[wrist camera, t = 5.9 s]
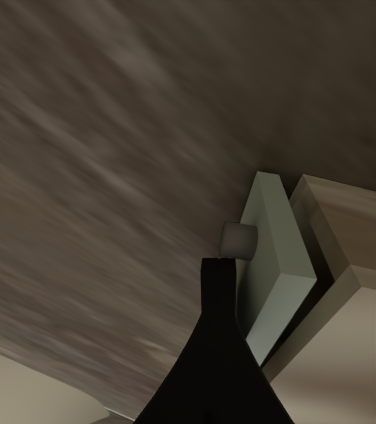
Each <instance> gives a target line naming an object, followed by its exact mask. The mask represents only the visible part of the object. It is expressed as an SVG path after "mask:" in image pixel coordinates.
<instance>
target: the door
mask: <svg viewBox="0 0 376 424" xmlns="http://www.w3.org/2000/svg"><path fill="white" fill-rule="evenodd" d="M219 255H220V256H224V257H228V258H235V259H236V270H237V284H236V319H237V321H238V324H239V326H240V328H241V330H242V333H243V335H244V337H245V339H246V341H247V343H248V345H249V347H250V349H251V351H252V353H253V355H254V357H255V359H256V361H257V362H258V364H259V366H260V365H261V363H262V362H263V360H264V359H265V357H266V356H267V354H268V353H269V351H270V350H271V348H272V347H273V345H274V344H275V342H276V341H277V339H278V338H279V336H280V335H281V333H282V332H283V330H284V329H285V327H286V326H287V324H288V323H289V321H290V320H291V318H292V317H293V315H294V314H295V312H296V311H297V309H298V308H299V306H300V305H301V303H302V302H303V300H304V299H305V297H306V296H307V294H308V293H309V291H310V290H311V288H312V287H313V285H314V283H315V282H316V280H317V278H316V275H315V272H314V269H313V267H312V264H311V261H310V258H309V256H308V253H307V250H306V248H305V245H304V242H303V239H302V237H301V234H300V231H299V228H298V226H297V223H296V220H295V217H294V215H293V212H292V209H291V206H290V204H289V201H288V198H287V195H286V193H285V190H284V187H283V185H282V182H281V179H280V176H279V175H276V174H271V173H265V172H260V171H257V173H256V176H255V179H254V182H253V185H252V188H251V191H250V194H249V197H248V200H247V203H246V206H245V209H244V212H243V215H242V218H241V221H240V223H235V222H230V221H225V222H224V225H223V228H222V232H221V238H220V245H219Z"/></svg>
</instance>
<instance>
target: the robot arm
mask: <svg viewBox="0 0 376 424" xmlns="http://www.w3.org/2000/svg"><path fill="white" fill-rule="evenodd" d="M236 284H237V270H236V259H235V258H220V259H218V258H202V264H201V306H202V313H201V315H200V318H199V320H198V322H197V324H196V326H195V328H194V330H193V332H192V334H191V336H190V338H189V340H188V342H187V344H186V346H185V347H184V349H183V351H182V352H181V354H180V356H179V358H178V359H177V361H176V363H175V364H174V366H173V368H172V369H171V371H170V372H169V374H168V375H167V377H166V378H165V380H164V381H163V383H162V384H161V386H160V387H159V389H158V390H157V392H156V393H155V395H154V396H153V397H152V399H151V400H150V401H149V403H148V404H147V405H146V407H145V408H144V409H143V411H142V412H141V413H140V415H139V416H138V417H137V419H136V420H135V421H134V423H133V424H295V423H294V422H293V420H292V419H291V417H290V416H289V414H288V413H287V411H286V409H285V408H284V406H283V405H282V403H281V401H280V400H279V398H278V397H277V395H276V394H275V392H274V390H273V388H272V387H271V385H270V383H269V382H268V380H267V378H266V376H265V375H264V373H263V371H262V369H261V368H260V366H259V364H258V362H257V361H256V359H255V357H254V355H253V353H252V351H251V349H250V347H249V345H248V343H247V341H246V339H245V337H244V335H243V333H242V330H241V328H240V326H239V324H238V321H237V319H236Z"/></svg>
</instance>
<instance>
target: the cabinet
mask: <svg viewBox="0 0 376 424" xmlns="http://www.w3.org/2000/svg"><path fill="white" fill-rule="evenodd" d="M289 204H290V206H291V209H292V212H293V215H294V217H295V220H296V223H297V226H298V228H299V231H300V234H301V237H302V239H303V242H304V245H305V248H306V250H307V253H308V256H309V258H310V261H311V264H312V267H313V269H314V272H315V275H316V278H317V280H316V282H315V283H314V285H313V287H312V288H311V290H310V291H309V293H308V294H307V296H306V297H305V299H304V300H303V302H302V303H301V305H300V306H299V308H298V309H297V311H296V312H295V314H294V315H293V317H292V318H291V320H290V321H289V323H288V324H287V326H286V327H285V329H284V330H283V332H282V333H281V335H280V336H279V338H278V339H277V341H276V342H275V344H274V345H273V347H272V348H271V350H270V351H269V353H268V354H267V356H266V357H265V359H264V360H263V362H262V363H261V365H260V368H261V369H262V371H263V373H264V375H265V376H266V378H267V380H268V382H269V383H270V385H271V387H272V388H273V390H274V392H275V394H276V395H277V397H278V398H279V400H280V401H281V403H282V405H283V406H284V408H285V409H286V411H287V413H288V414H289V416H290V417H291V419H292V420H293V422H294V423H295V424H376V191H372V190H367V189H363V188H359V187H355V186H351V185H347V184H343V183H339V182H334V181H330V180H326V179H322V178H318V177H314V176H310V175H306V174H302V176H301V178H300V180H299V182H298V184H297V186H296V188H295V190H294V191H293V193H292V195H291V197H290V199H289Z"/></svg>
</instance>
